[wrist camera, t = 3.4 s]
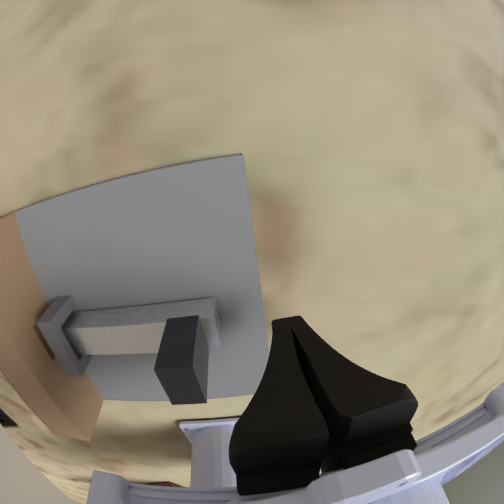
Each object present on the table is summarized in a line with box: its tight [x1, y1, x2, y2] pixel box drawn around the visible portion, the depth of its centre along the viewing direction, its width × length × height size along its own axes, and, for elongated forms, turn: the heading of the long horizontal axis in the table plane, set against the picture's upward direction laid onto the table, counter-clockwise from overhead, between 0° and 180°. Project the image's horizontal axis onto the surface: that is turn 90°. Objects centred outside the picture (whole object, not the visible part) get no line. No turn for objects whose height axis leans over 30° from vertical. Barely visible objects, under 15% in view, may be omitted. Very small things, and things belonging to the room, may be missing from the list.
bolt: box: [61, 297, 221, 405], centre depth 13 cm, size 10×2×5 cm, turn 97°
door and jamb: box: [0, 153, 269, 442], centre depth 14 cm, size 18×16×6 cm
